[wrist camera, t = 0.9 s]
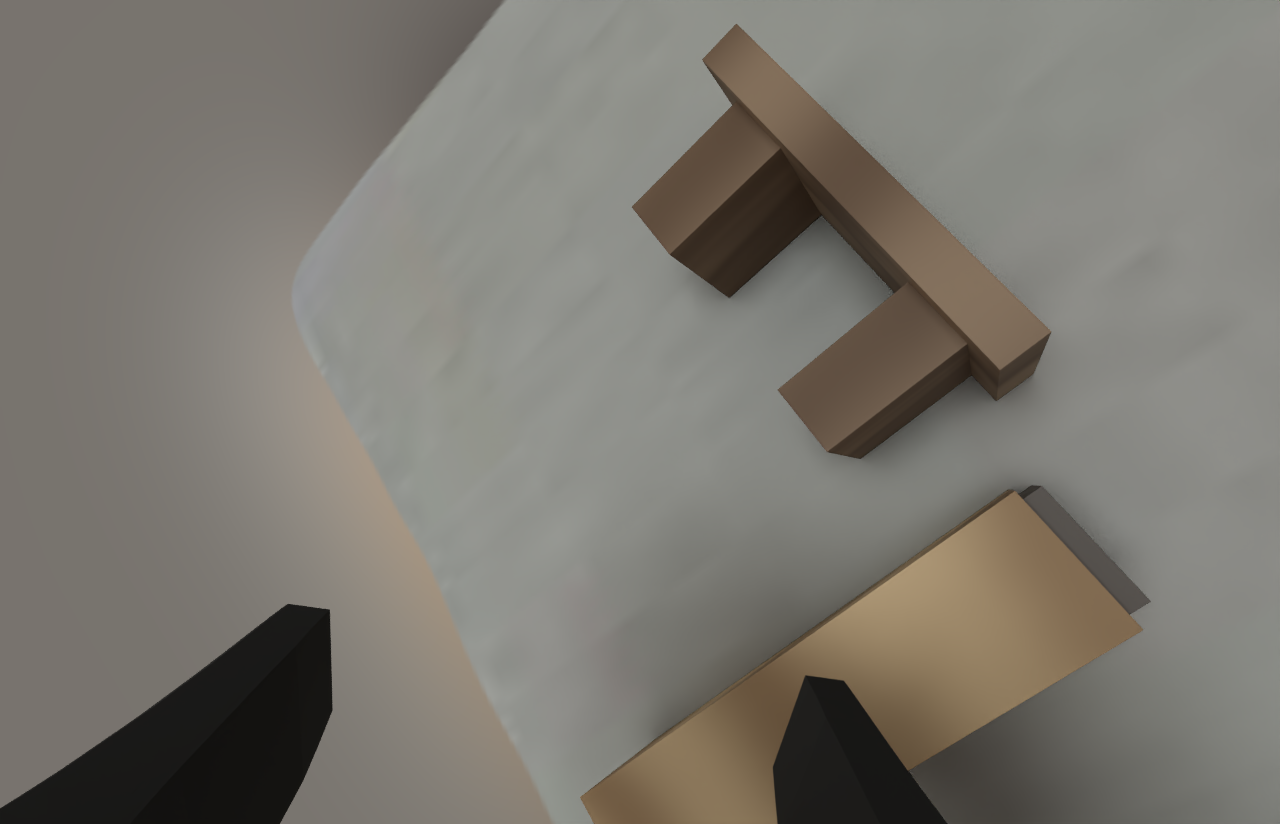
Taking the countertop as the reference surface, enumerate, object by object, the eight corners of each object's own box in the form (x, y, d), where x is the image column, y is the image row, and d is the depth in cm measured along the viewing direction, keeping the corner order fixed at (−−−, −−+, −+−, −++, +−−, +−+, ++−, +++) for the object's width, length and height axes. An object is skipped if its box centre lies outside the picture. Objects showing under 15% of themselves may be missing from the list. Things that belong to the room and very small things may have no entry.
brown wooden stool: (1033, 373, 19) (1051, 331, 14) (881, 485, 21) (845, 485, 15) (793, 129, 23) (736, 23, 18) (680, 238, 25) (596, 170, 19)
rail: (1023, 478, 19) (1035, 476, 15) (1122, 583, 18) (1166, 615, 14) (656, 738, 24) (579, 797, 19) (715, 837, 22) (649, 925, 18)
